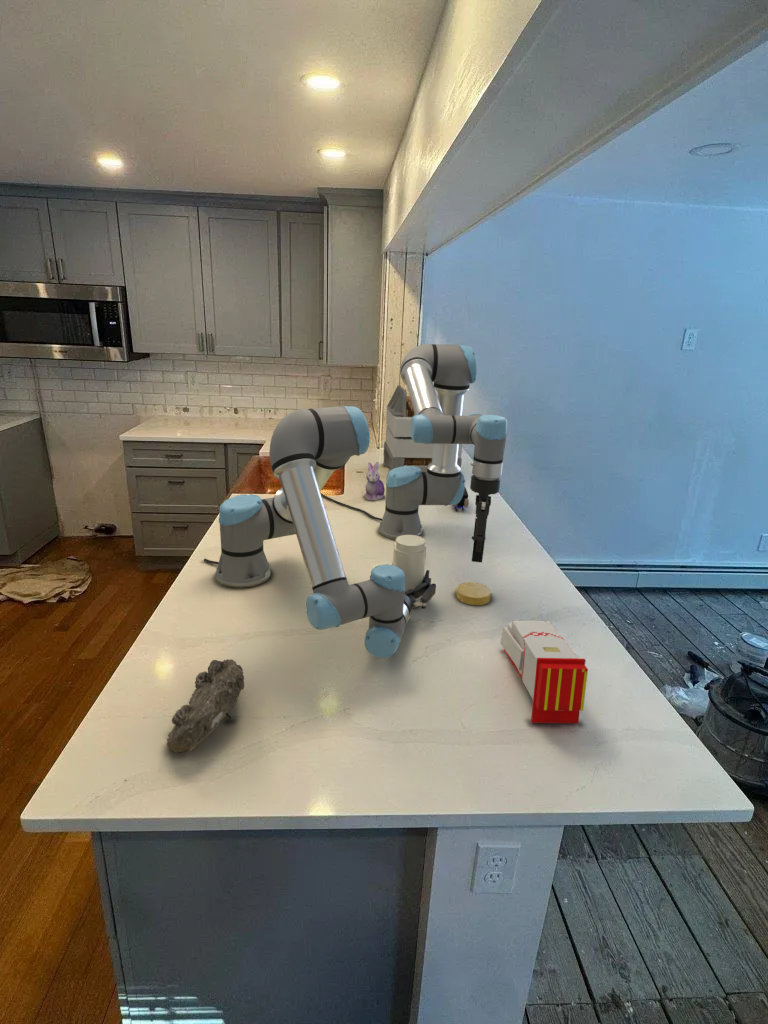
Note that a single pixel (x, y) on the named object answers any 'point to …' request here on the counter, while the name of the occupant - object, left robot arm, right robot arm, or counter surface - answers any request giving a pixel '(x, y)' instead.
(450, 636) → the counter surface
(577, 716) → the toy
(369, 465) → the figurine
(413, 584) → the jar
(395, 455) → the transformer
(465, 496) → the figurine character
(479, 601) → the lid
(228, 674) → the fossil
